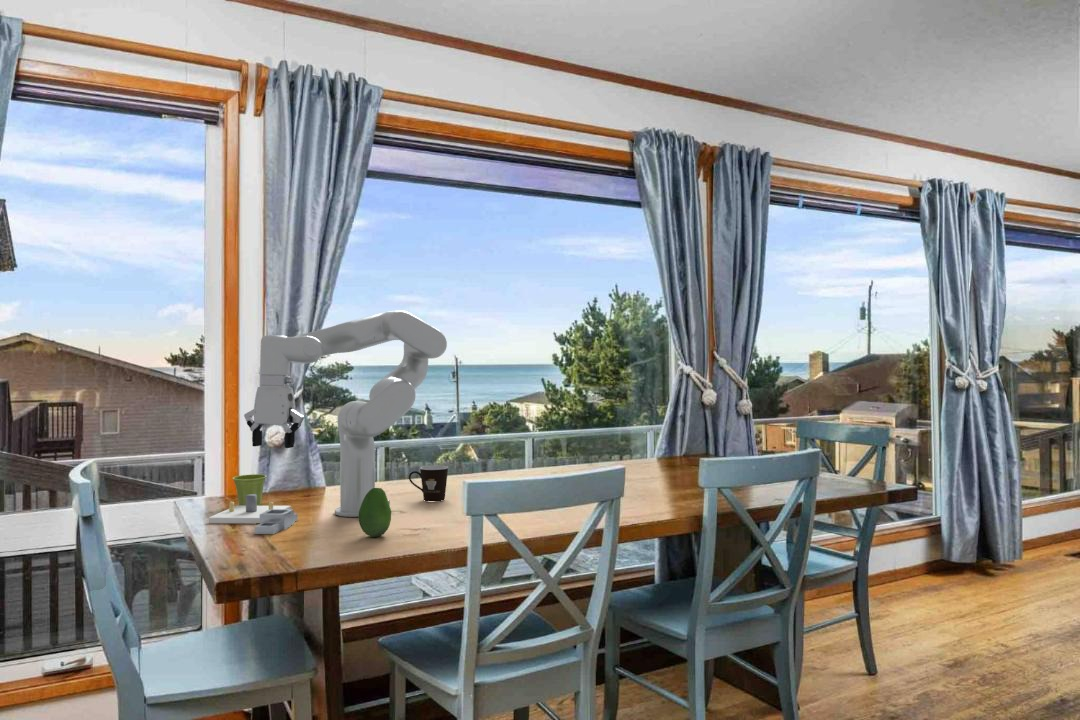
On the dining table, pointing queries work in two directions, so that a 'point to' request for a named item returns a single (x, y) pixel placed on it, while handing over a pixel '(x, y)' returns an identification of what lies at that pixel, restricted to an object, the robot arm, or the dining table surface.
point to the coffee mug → (432, 482)
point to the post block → (244, 512)
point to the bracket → (275, 521)
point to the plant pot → (249, 487)
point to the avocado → (375, 513)
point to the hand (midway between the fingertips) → (273, 446)
